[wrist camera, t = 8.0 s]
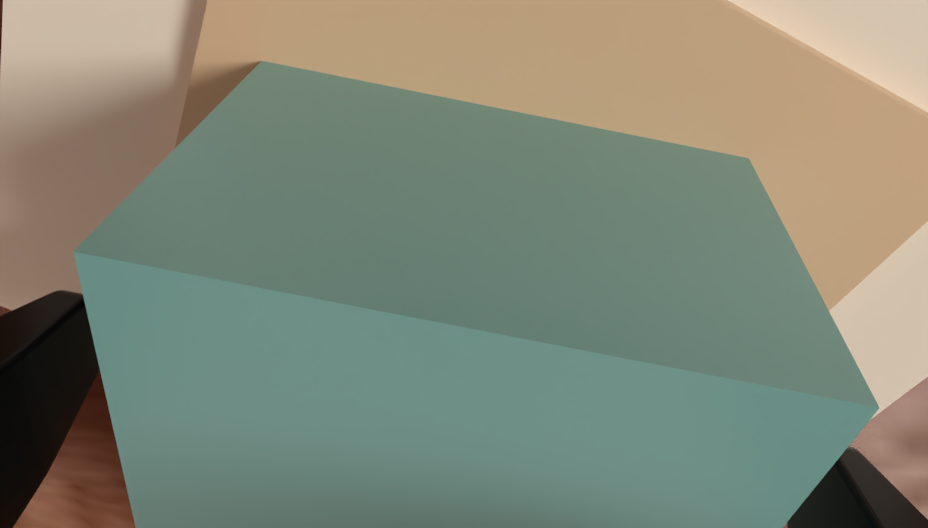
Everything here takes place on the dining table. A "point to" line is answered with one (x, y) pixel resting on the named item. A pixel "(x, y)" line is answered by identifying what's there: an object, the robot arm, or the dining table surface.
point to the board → (512, 88)
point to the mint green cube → (457, 324)
